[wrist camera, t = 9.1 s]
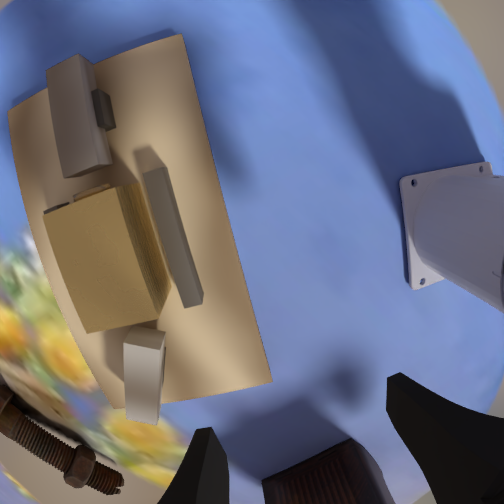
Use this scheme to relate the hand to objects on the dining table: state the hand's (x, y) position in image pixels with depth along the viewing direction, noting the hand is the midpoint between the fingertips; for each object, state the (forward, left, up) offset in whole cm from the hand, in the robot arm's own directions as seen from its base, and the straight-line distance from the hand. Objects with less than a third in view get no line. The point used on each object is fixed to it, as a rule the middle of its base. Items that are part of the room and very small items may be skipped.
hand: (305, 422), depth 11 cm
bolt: (+23, +9, -10) cm, 27 cm away
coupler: (+7, -7, -8) cm, 13 cm away
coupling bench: (+7, -7, -9) cm, 14 cm away
